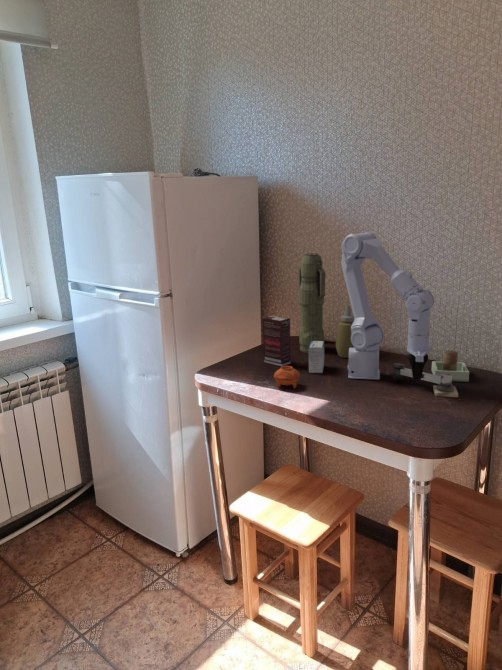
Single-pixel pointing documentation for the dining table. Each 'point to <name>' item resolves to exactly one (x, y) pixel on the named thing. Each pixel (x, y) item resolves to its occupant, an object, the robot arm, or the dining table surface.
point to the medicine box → (316, 357)
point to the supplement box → (276, 340)
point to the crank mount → (445, 391)
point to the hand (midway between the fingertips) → (416, 378)
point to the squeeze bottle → (344, 334)
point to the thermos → (311, 300)
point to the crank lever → (442, 380)
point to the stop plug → (450, 360)
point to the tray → (458, 375)
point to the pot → (286, 376)
